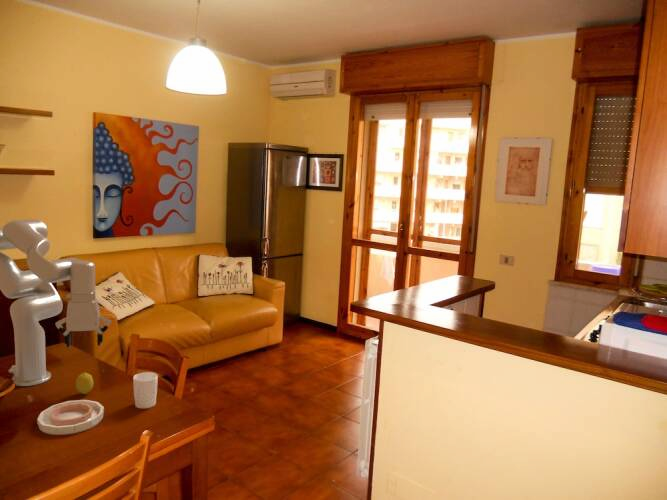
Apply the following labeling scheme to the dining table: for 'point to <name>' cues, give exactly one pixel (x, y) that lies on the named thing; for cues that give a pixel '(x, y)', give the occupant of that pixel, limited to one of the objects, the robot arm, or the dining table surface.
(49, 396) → the dining table surface
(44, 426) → the fruit dish
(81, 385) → the lemon
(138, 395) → the white cup
